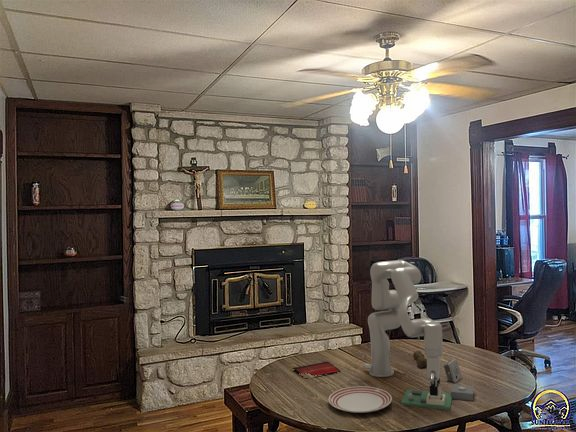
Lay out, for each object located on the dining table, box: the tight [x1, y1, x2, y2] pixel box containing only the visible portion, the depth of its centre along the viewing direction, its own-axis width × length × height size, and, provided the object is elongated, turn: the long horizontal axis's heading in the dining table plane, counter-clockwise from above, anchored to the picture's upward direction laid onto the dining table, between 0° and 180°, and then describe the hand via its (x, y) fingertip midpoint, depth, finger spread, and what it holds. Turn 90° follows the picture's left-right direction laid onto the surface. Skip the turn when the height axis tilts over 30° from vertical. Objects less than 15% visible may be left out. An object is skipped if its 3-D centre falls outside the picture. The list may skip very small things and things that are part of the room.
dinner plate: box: [328, 385, 393, 414], centre depth 213 cm, size 27×27×3 cm
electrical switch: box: [443, 358, 463, 384], centre depth 238 cm, size 9×5×9 cm, turn 141°
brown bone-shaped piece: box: [412, 350, 427, 369], centre depth 262 cm, size 6×10×20 cm
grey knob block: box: [450, 384, 474, 402], centre depth 217 cm, size 9×9×4 cm
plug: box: [430, 382, 441, 400], centre depth 210 cm, size 4×4×8 cm
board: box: [400, 388, 453, 411], centre depth 214 cm, size 20×16×3 cm
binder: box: [292, 361, 341, 376], centre depth 259 cm, size 16×2×21 cm
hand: (435, 390), depth 210 cm, fingers open, 9 cm apart
